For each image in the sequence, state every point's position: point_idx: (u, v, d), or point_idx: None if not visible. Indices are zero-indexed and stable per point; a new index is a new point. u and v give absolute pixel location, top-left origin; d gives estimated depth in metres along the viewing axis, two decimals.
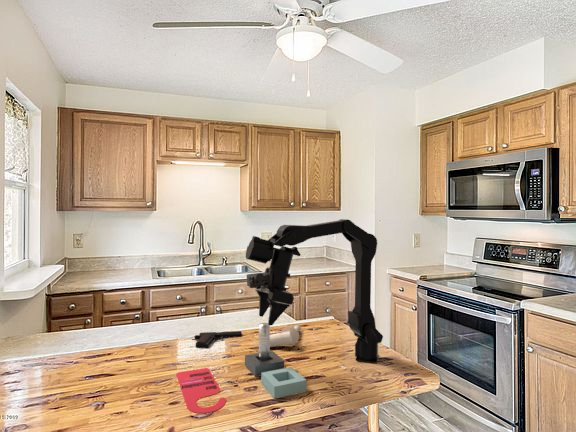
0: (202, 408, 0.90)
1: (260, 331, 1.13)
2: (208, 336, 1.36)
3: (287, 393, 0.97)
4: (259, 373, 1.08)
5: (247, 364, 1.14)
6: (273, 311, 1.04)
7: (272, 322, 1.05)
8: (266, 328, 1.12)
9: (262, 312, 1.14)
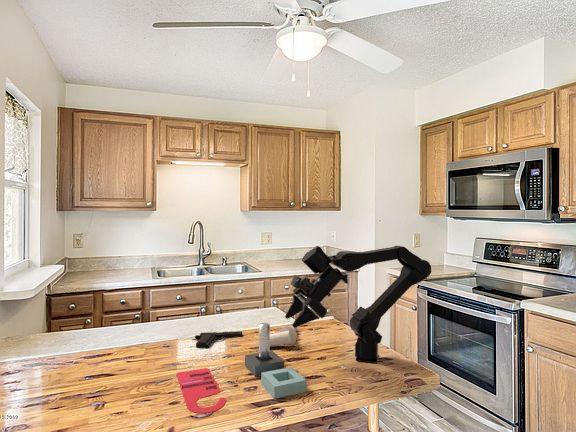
0: (202, 408, 0.90)
1: (260, 331, 1.13)
2: (208, 336, 1.36)
3: (287, 393, 0.97)
4: (259, 373, 1.08)
5: (247, 364, 1.14)
6: (302, 316, 1.10)
7: (296, 325, 1.11)
8: (266, 328, 1.12)
9: (289, 315, 1.20)
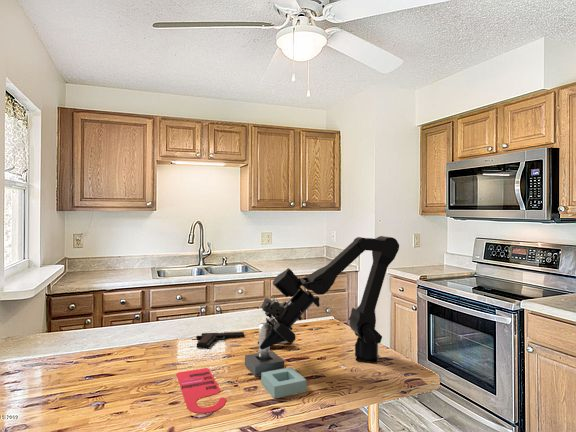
0: (202, 408, 0.90)
1: (260, 331, 1.13)
2: (210, 337, 1.36)
3: (287, 393, 0.97)
4: (259, 373, 1.08)
5: (247, 364, 1.14)
6: (269, 338, 1.11)
7: (263, 347, 1.11)
8: (266, 328, 1.12)
9: None
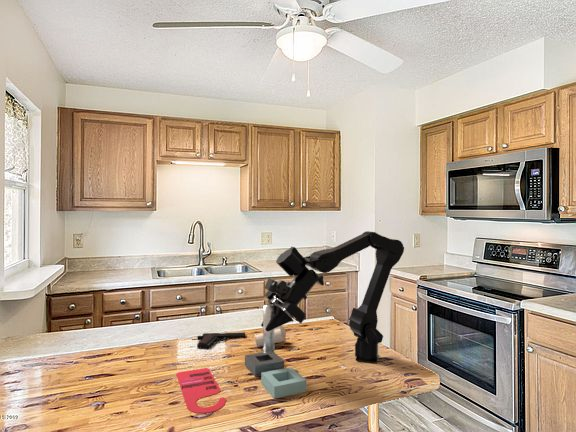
0: (202, 408, 0.90)
1: (265, 312, 1.07)
2: (211, 337, 1.35)
3: (287, 393, 0.97)
4: (259, 373, 1.08)
5: (247, 364, 1.14)
6: (276, 319, 1.06)
7: (269, 329, 1.07)
8: (271, 309, 1.07)
9: None
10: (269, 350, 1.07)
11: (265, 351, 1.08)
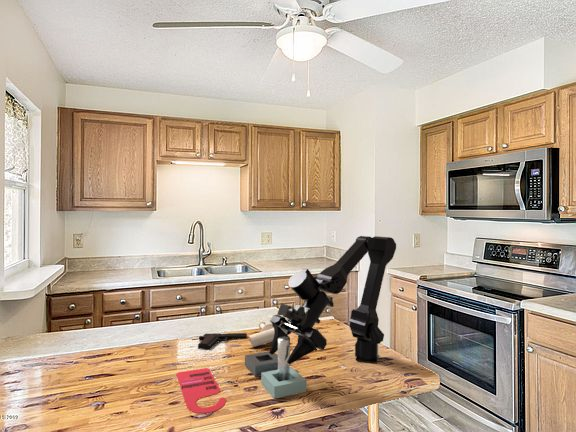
0: (202, 408, 0.90)
1: (281, 347, 1.00)
2: (212, 337, 1.35)
3: (287, 393, 0.97)
4: (259, 373, 1.08)
5: (247, 364, 1.14)
6: (299, 350, 0.98)
7: (292, 361, 0.98)
8: (288, 342, 1.00)
9: (273, 350, 1.04)
10: None
11: None
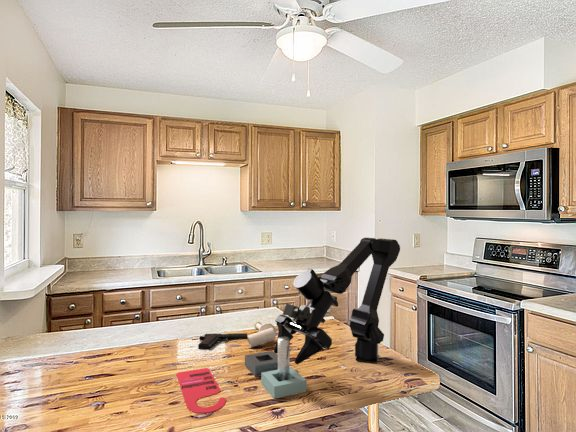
0: (202, 408, 0.90)
1: (281, 347, 1.00)
2: (212, 338, 1.35)
3: (287, 393, 0.97)
4: (259, 373, 1.08)
5: (247, 364, 1.14)
6: (306, 350, 0.98)
7: (299, 361, 0.98)
8: (288, 342, 1.00)
9: None
10: None
11: None
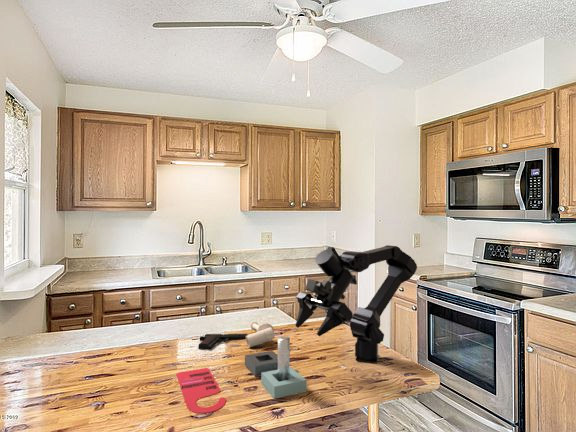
0: (202, 408, 0.90)
1: (281, 347, 1.00)
2: (212, 338, 1.35)
3: (287, 393, 0.97)
4: (259, 373, 1.08)
5: (247, 364, 1.14)
6: (328, 322, 1.03)
7: (321, 333, 1.03)
8: (288, 342, 1.00)
9: (299, 323, 1.10)
10: None
11: None
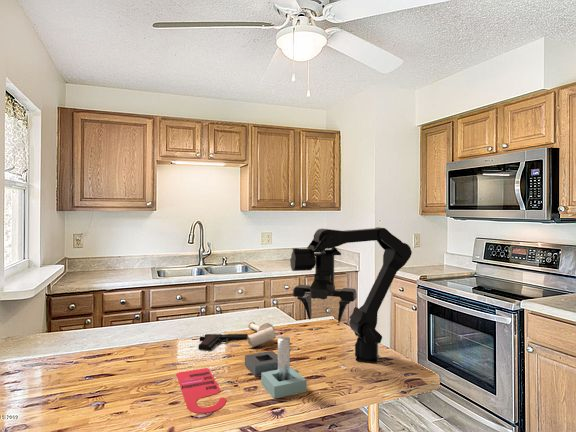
0: (202, 408, 0.90)
1: (281, 347, 1.00)
2: (212, 338, 1.34)
3: (287, 393, 0.97)
4: (259, 373, 1.08)
5: (247, 364, 1.14)
6: (343, 309, 1.15)
7: (340, 319, 1.16)
8: (288, 342, 1.00)
9: (310, 315, 1.19)
10: None
11: None
